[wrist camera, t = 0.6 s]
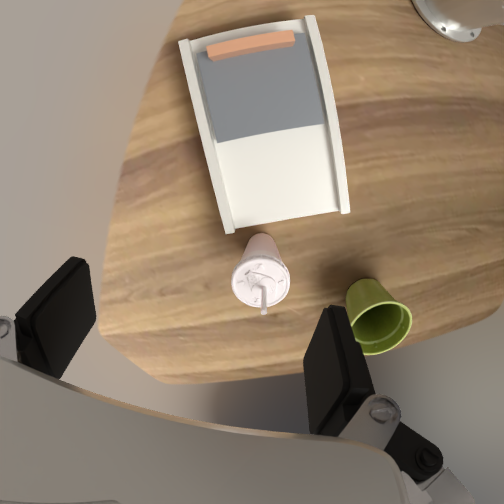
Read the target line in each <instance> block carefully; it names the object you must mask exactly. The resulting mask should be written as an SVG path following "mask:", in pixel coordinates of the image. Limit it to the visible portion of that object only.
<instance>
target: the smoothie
mask: <svg viewBox="0 0 504 504" xmlns="http://www.w3.org/2000/svg"><path fill="white" fill-rule="evenodd" d="M231 280H232V282H231V284H232V289H233V292H234V293H235V295H236V296H237V298H238V299H239V300H241V301H242V302H243V303H245V304H247V305H250V306H253V307H261V314H263V315H265V314H266V313H267V307H269V306H272V305H274V304H277V303H278V302H280V301H281V300H282V299H283V298H284V297H285V296H286V294H287V293H288V290H289V286H290V276H289V272H288V269H287V267H286V266H285V265H284V264H283V262H282V260H281V258H280V255H279V252H278V249H277V247H276V244H275V241H274V239H273V238H272V237H271V236H270V235H268V234H265V233H258V234H255V235H254V236H252V237H251V238H250V240H249V242H248V244H247V247H246V249H245V251H244V254H243V256H242V258H241V261H240V262H239V263H238V264H237V265H236V266H235V268H234V270H233V272H232V279H231Z"/></svg>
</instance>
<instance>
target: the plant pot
mask: <svg viewBox="0 0 504 504" xmlns="http://www.w3.org/2000/svg"><path fill="white" fill-rule="evenodd" d="M346 306H347V312H348V318H349V321H350V324H351V327H352V330H353V333H354V336H355V340H356V341H357V342H359V343H360V345H361V347H362V351H363V354H364V355H376V354H380V353H383V352H386V351H388V350H390V349H392V348H393V347H395V346H396V345H398V344H399V343H400V342H401V341H402V340H403V339H404V338H405V337H406V335H407V333H408V332H409V330H410V327H411V324H412V315H411V312H410V310H409V309H408V308H407V307H406V306H405V305H404V304H402V303H400V302H398V301H396V300H395V299H394V298H393V297H392V296H391V295H390V294H389V293H388V292H387V291H386V289H385V288H384V287H383V286H382V285H381V284H380V283H379V282H378V281H377V280H375V279H361V280H358V281H356V282H355V283H354V284H352V285H351V286H350V288H349V289H348V291H347V294H346Z"/></svg>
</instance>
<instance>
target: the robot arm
mask: <svg viewBox="0 0 504 504" xmlns="http://www.w3.org/2000/svg"><path fill="white" fill-rule="evenodd" d="M412 2H413V4H414V6H415V8H416V9H417V11H418V13H419V14H420V16H421V17H422V18H423V19H424V21H425V22H426V23H427V24H428V25H429V26H430V27H431V28H432V29H434V30H435V31H436V32H437V33H439V34H440V35H442V36H443V37H445V38H447V39H449V40H452V41H455V42H469V41H472V40H474V39H475V38H477V37H478V35H479V34H480V32H481V28H482V27H486V26H491V25H496V24H500V25H504V0H412ZM15 316H16V319H15V320H14V321H13V320H12V319H11V318H9V317H6V316H0V504H475V500H474V498H473V496H472V495H471V493H470V492H469V491H468V490H467V489H466V488H465V486H464V485H463V484H462V483H461V482H460V481H459V480H458V479H457V477H456V476H455V475H454V474H453V473H452V472H451V470H450V469H449V468H448V467H447V468H446V469H444V467H443V466H442V465H443V456H442V453H441V451H440V450H439V448H438V447H437V446H435V445H434V444H433V443H431V442H430V441H428V440H427V439H425V438H424V437H422V436H421V435H419V434H418V433H416V432H415V431H413V430H412V429H410V428H409V427H408V426H406V425H405V424H403V423H402V422H400V419H401V410H400V407H399V405H398V404H397V403H396V402H395V401H394V400H393V399H392V398H390V397H388V396H386V395H382V394H375V391H374V387H373V384H372V380H371V377H370V374H369V370H368V367H367V364H366V360H365V357H364V354H363V351H362V347H361V345H360V343H359V342H357V341H356V340H355V336H354V333H353V330H352V327H351V324H350V321H349V318H348V315H347V312H346V309H345V307H342V306H335V305H330V306H329V307H328V308H324V309H323V312H322V314H321V317H320V319H319V322H318V324H317V327H316V329H315V332H314V334H313V337H312V339H311V341H310V344H309V346H308V349H307V351H306V353H305V356H304V360H303V366H304V375H305V386H306V396H307V406H308V418H309V430H310V434H314V435H310V434H296V433H284V432H274V431H264V430H255V429H247V428H239V427H232V426H225V425H219V424H213V423H207V422H202V421H197V420H192V419H187V418H183V417H178V416H173V415H169V414H165V413H161V412H157V411H153V410H149V409H145V408H141V407H138V406H134V405H131V404H127V403H124V402H120V401H117V400H114V399H111V398H108V397H105V396H102V395H99V394H96V393H93V392H90V391H87V390H85V389H82V388H79V387H76V386H74V385H71V384H69V383H66V382H64V381H61V380H59V379H60V378H61V377H62V375H63V373H64V371H65V370H66V368H67V366H68V365H69V363H70V361H71V360H72V358H73V356H74V355H75V353H76V352H77V350H78V348H79V347H80V345H81V344H82V342H83V340H84V339H85V337H86V336H87V334H88V332H89V331H90V329H91V328H92V326H93V325H94V323H95V321H96V311H95V305H94V299H93V292H92V285H91V277H90V269H89V265H88V264H87V263H86V261H85V259H82V258H78V257H70V258H69V259H68V260H67V261H66V262H65V263H64V264H63V265H62V266H61V267H60V268H59V269H58V270H57V271H56V272H55V273H54V274H53V275H52V276H51V277H50V278H49V279H48V280H47V281H46V282H45V283H44V284H43V285H42V286H41V287H40V288H39V289H38V290H37V291H36V293H34V294H33V296H31V298H30V299H29V300H28V301H27V302H26V303H25V304H24V305H23V306H22V307H21V308H20V309H19V311H18V312H17V313H16V314H15Z"/></svg>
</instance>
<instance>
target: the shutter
mask: <svg viewBox="0 0 504 504" xmlns="http://www.w3.org/2000/svg"><path fill="white" fill-rule="evenodd" d="M206 48H207V51H203V52H200V53H196V56H197V60H198V64H199V69H200V73H201V77H202V81H203V86H204V90H205V94H206V98H207V103H208V107H209V111H210V115H211V119H212V124H213V128H214V132H215V136H216V140H217V143H221V142H225V141H230V140H234V139H239V138H244V137H249V136H253V135H259V134H264V133H269V132H275V131H280V130H286V129H292V128H299V127H305V126H312V125H319V124H324V120H323V114H322V109H321V104H320V99H319V94H318V89H317V84H316V79H315V75H314V70H313V66H312V61H311V57H310V53H309V49H308V45H307V41H306V37H305V33H297V34H293V30H286V31H279V32H272V33H266V34H260V35H254V36H249V37H244V38H239V39H234V40H230V41H225V42H221V43H217V44H213V45H209V46H206Z"/></svg>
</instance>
